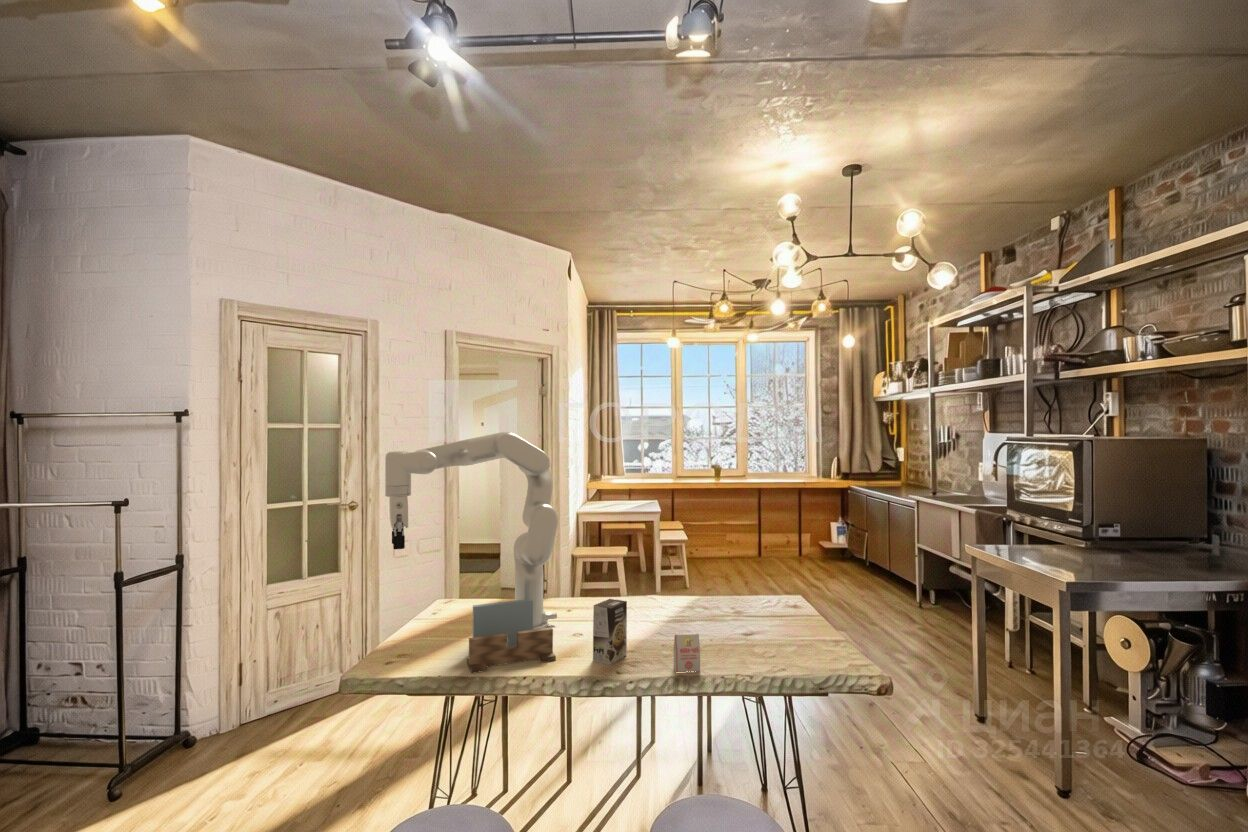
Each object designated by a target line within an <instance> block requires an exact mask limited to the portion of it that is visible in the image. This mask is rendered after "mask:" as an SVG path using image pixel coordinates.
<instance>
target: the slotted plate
mask: <svg viewBox="0 0 1248 832" xmlns="http://www.w3.org/2000/svg"><path fill="white" fill-rule="evenodd" d="M526 630H533V600H532V599H525V600H516V601H515V600H509V601H499V602H491V603H483V604H473V605H472V638H474V637H481V636H489V635H496V634H504V633H505V634H506V635H507V647H510V646H517V632H519V631H526Z"/></svg>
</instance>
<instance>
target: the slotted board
mask: <svg viewBox="0 0 1248 832" xmlns="http://www.w3.org/2000/svg"><path fill="white" fill-rule="evenodd" d="M553 635H554V629H553V628H552V627H551V626H550V627H546V628H541V629H534V630H526V631H519V632H517V646H510V647H508V635H506V634H505V633H504V634H496V635H489V636H481V637H474V638H473V637H469V638H468V658H467V659H466V664H467V666H468V668H469V670H470V672H471V674H475V673H474V672H476V673H480V672H479V671H483V672H486V671H485V670H487V668H488V667H491V666H490V665H495V666H500V665H499V664H501V665H506V664H505V663H508V664H514V663H518V662H519V661H521V662H525V661H524V660H527V661H530V660H529V659H534V660H540V661H541V662H542V663H545V662H552V661H556V659H557V658H556V657H557V656H556V654H555V653H554V645H553V643H554V636H553ZM538 658H540V659H538ZM513 662H514V663H513ZM519 663H520V662H519ZM487 666H488V667H487Z"/></svg>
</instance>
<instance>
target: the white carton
mask: <svg viewBox="0 0 1248 832" xmlns="http://www.w3.org/2000/svg"><path fill="white" fill-rule="evenodd" d="M700 644H701V643H700V634H699V633H685V634H684V633H681V634H680V633H679V634H674V641H673V670H674V669H675V670H674V672H675V671H676V672H686V671H688V672H689V671H690V672H691V671H694V672H695V671H696V672H700V673H701V647H700ZM676 672H675V673H676Z"/></svg>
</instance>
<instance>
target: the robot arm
mask: <svg viewBox="0 0 1248 832" xmlns="http://www.w3.org/2000/svg"><path fill="white" fill-rule="evenodd" d="M504 458H505V459H506V460H508V461H509V462H510V463H512V464H514V465H515V466H517V467H518V469H519V470H520V471H521V472H522V473H524V474H525V477H526V479H527V490H526V498H525V502H524V507H523V510H522V511H523V512H522V521H523V524H524V525H525V526H526V527H527V528H528V531H527V532H523V533H521V534H520V535H518V537H516V539H515V541H514V544H513V558H514V570H515V572H514V601H516V600H525V599H532V600H533V630H534V629H541V628H548V626H549V624H548V623H549V622H548V621H549V620H556V619H557V618H558V614H557V612H551V611H548V612H545V611H544V565H545V564H546V563H547V562H549V560H550V559H551V557H552V554H553V550H554V546H555V540H556V535H557V529H558V519H559V518H558V513H557V511H556V510H555V508H554V507H553V506H552V505H551V502H552V497H553V496H552V495H553V486H554V485H553V484H554V482H553V476H552V474H551V470H550V465H551V460H550V457H549V455H548V454H547V453H546V452H545V451H543V450H542V449H540V448H538V447H537V446H535V445H534V444H532V443H530V442H529V441H527V440H526V439H524V438H522V437H521V436H519V435H517V434H516V433H513V432H508V431H506V432H505V431H503V432H497V433H496V432H495V433H492V434H487V435H482V436H478V437H477V436H476V437H473V438H468V439H462V440H458V441H455V442H451V443H447V444H442V445H441V444H440V445H436V446H432V447H426V448H421V449H417V450H416V451H412V452H409V451H402V450H401V451H400V450H398V451H396V450H395V451H388V452H387V453H386V455H385V468H384V470H385V474H384V475H385V476H384V477H385V478H384V479H385V480H384V481H385V485H384V487H385V491H384V493H385V495H384V496H385V497H388V498H389V501H388V502H389V520H390V521H389V522H390V527H391V529H392V530H391V544H392V545H393V550H402V549H403V550H404V549H405V548H406V547H405V546H406V545H405V543H406V542H405V539H406V538H405V536H406V535H405V528H406V529H408V528H409V501H408V500H409V499H408V497H409V496H412V474H413V475H414V474H415V475H430V474H431V473H433V472H435V470H438V469H442V468H450V467H456V466H457V467H461V466H463V467H467V466H473V465H476V464H482V463H487V462H490V461H494V460H499V459H504Z"/></svg>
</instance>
